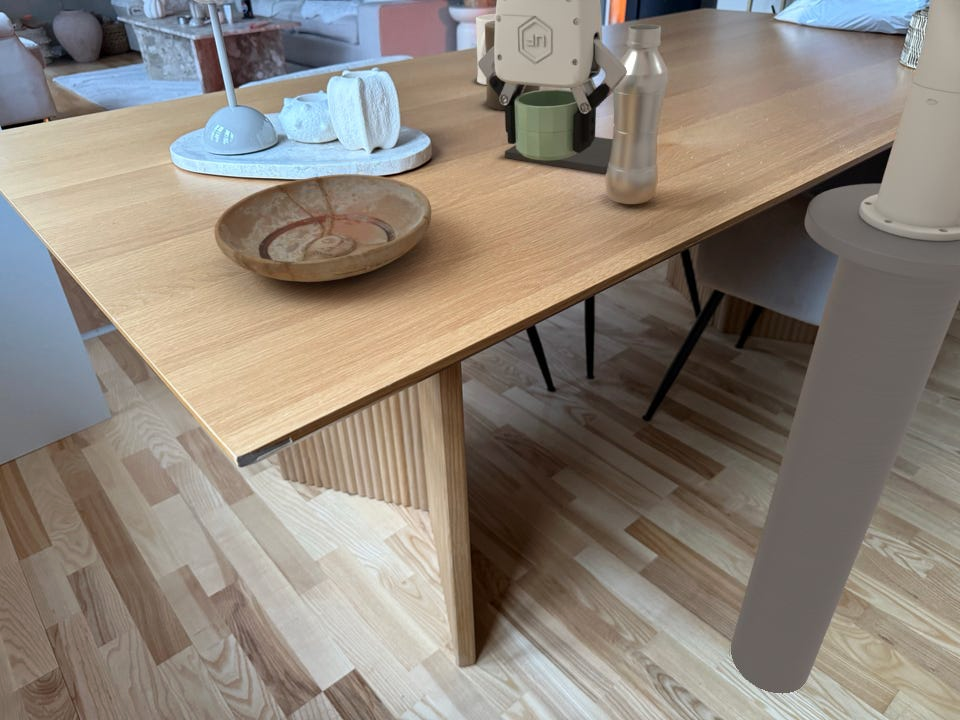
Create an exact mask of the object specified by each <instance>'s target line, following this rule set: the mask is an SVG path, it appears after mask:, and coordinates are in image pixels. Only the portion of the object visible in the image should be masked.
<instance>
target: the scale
mask: <svg viewBox="0 0 960 720" xmlns="http://www.w3.org/2000/svg"><path fill="white" fill-rule="evenodd" d="M612 142H613V138H607V137H600V136H595V138H594V141H593V142H592V144H591V146H589V147H588V148H587V149H585V150H584V151H582V152H581V153H576V154H575V155H573V156H571V157H568V158H564V159H559V160H535V159H530V158H527V157H525V156H523V155H522V154H521V153H520V152H519V151H518V150H517V149H516V144H514V145H513V146H511V147H510V148H508V149H506V150H504V158H506V159H512V160H517V161H523V162H530V163H535V164H541V165H548V166H553V167H554V166H555V167H561V168H565V169H566V168H567V169H572V170H579V171H585V172H592V173H597V174H603V175H606V172H607V168H608V164H609V162H610V155H611V148H612Z"/></svg>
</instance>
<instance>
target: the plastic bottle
mask: <svg viewBox="0 0 960 720" xmlns="http://www.w3.org/2000/svg"><path fill="white" fill-rule="evenodd" d="M661 35H662V26H661V25H657V24H650V23H649V24H647V23H646V24H643V23H642V24H641V23H640V24H633V25H629V26H628V28H627V38H626V41H625V46H627V47H628V48H627V51H626V52H625V54H624V55H623V56H622V58H620V60H619V61H620V62H621V63H622V64H623V65H624V66H625V67H626V69H627V74H626V76H625V77H624V78H623V79H622V81H621V82H620V83H619V84H618V85H617V87H615V89H614V90H613V92H612V101H613V102H612V103H613V130H612V131H613V134H612V135H613V136H612V139H613V142H612V148H611V155H610V162H609V164H608V168H607V172H606V173H605V178H604V186H605V192H606V194H607V195H608V197H609V198H610V200H611V201H614V202H616V203H619V204H625V205H638V204H639V205H640V204H643V203H647V202H648V201H650V200H651V199H652V198H653V196H654V195H655V193H656V190H657V187H658V182H659V178H658V177H659V172H658V171H659V169H658V163H657V157H658V155H657V154H658V153H657V152H658V133H659V125H660V119H661V113H662V109H663V105H664V100H665V96H666V93H667V87H668V85H669V84H668V83H669V72H668V68H667V66H666V63H665V60H664V59H663V57H662V56H661V54H660V52H659V49H658V47H660V46H661V43H662V42H661V41H662V39H661Z"/></svg>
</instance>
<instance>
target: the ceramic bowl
mask: <svg viewBox="0 0 960 720" xmlns="http://www.w3.org/2000/svg"><path fill="white" fill-rule="evenodd" d="M431 220H432V205H431V203H430V200H429V198H428V197H427V196H426V194H425V193H424V192H422V190H420V189H418V188H417V187H415V186H413V185H412V184H409V183H405V182H404V181H401V180H399V179H394V178H390V177H385V176H379V175H372V174H360V173H359V174H358V173H346V174H343V173H342V174H341V173H340V174H328V175H321V176H314V177H308V178H301V179H297V180H292V181H288V182H284V183H280V184H277V185H273V186H270V187H266V188H264V189H261V190H259V191H256V192H254V193H251V194H249V195H247V196H246V197H244V198H242V199H240V200H238V201H237V202H236V203H234V204H232V205H231V206H229V207H228V208H227V209H226V210H224V212H223V213H222V214H221V215H220V216H219V217H218V219H217V221H216V223H215V225H214V229H213V230H214V231H213V233H214V239H215V242H216V245H217V247H218V248H219V250H220V251H221V252H222V253H223V255H225V257H227V258H228V259H229V260H230V261H231V262H232V263H234V264H235V265H237V266H239V267H240V268H242V269H245V270H247V271H250V272H252V273H255V274H258V275H261V276H263V277H267V278H272V279H276V280H281V281H290V282H301V283H304V282H305V283H314V282H328V281H335V280H336V281H337V280H341V279H346V278H350V277H356V276H358V275H362V274H366V273H370V272H373V271H375V270H378V269H380V268H382V267H384V266H386V265H389V264H390V263H392V262H394V261H395V260H398V259H399V258H401V257H402V256H404V255H405V254H407V253H408V252H409V251H410V250H412V249H413V248H414V247H415V246H416V245H417V244H418V243H419V242H420V241H421V240H422V238H423V237H424V236H425V234H426V233H427V231H428V228H429V226H430V223H431Z"/></svg>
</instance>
